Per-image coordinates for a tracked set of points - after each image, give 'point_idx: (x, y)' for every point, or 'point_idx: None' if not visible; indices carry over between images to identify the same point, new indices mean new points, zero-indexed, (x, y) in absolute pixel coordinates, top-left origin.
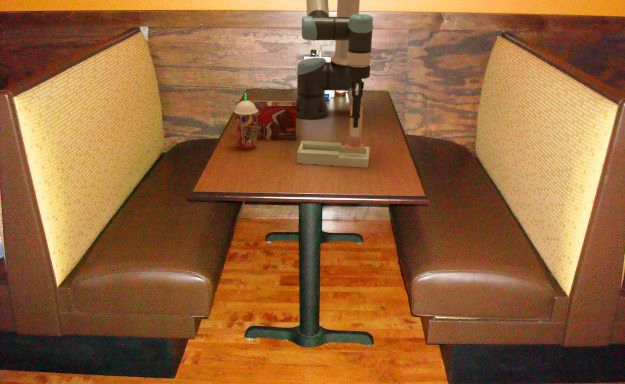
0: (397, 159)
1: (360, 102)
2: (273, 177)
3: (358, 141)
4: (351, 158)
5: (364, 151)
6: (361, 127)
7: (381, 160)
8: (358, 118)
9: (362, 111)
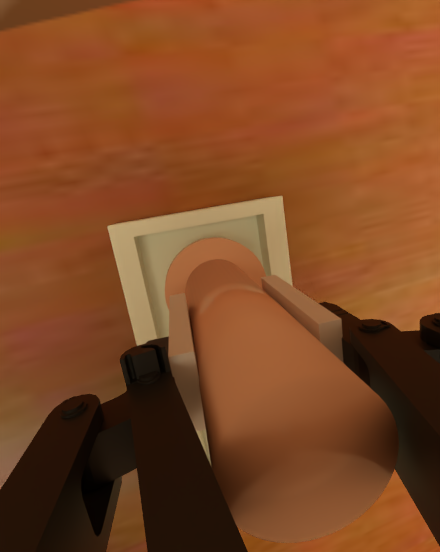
0: (119, 70)
1: (206, 463)
2: None
3: (244, 272)
4: (290, 274)
5: (137, 243)
6: (237, 284)
7: (162, 151)
8: (341, 330)
9: (155, 349)
